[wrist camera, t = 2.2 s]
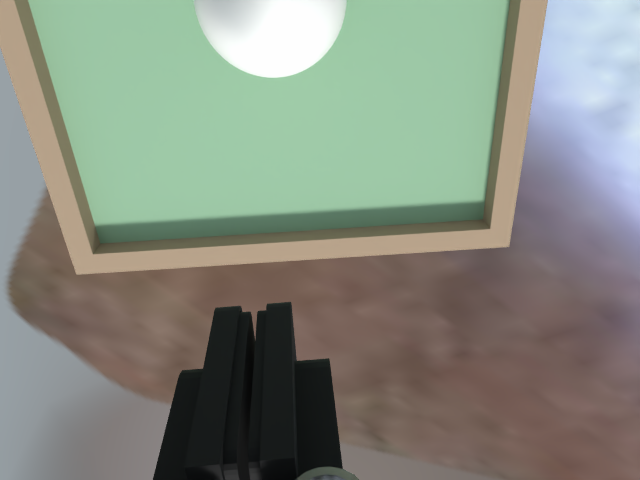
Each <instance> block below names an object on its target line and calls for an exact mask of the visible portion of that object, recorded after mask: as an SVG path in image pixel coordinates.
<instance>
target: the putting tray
mask: <svg viewBox="0 0 640 480" xmlns="http://www.w3.org/2000/svg"><path fill="white" fill-rule="evenodd" d="M547 2H548V0H347V5H346V12H345V17H344V21H343V24H342V27H341V30H340V32H339V34H338V37H337V38H336V40H335V42H334V44H333V45H332V47H331V48H330V49H329V51H328V52H327V53H326V54H325V55H324V56H323V57H322V58H321V59H320V60H319V61H318V62H317V63H315V64H314V65H313V66H311V67H309V68H308V69H306V70H304V71H302V72H300V73H297V74H294V75H291V76H287V77H279V78H267V77H260V76H256V75H252V74H249V73H246V72H244V71H242V70H240V69H238V68H236V67H235V66H233V65H231V64H230V63H229V62H227V61H226V60H225V59H224V58H223V57H222V56H221V55H219V54H218V53H217V52H216V50H215V49H214V48H213V47H212V45H211V44H210V43H209V41H208V39H207V38H206V36H205V35H204V33H203V31H202V28H201V26H200V24H199V21H198V18H197V15H196V12H195V7H194V1H193V0H0V48H1V50H2V53H3V57H4V60H5V63H6V65H7V68H8V71H9V74H10V77H11V80H12V83H13V86H14V89H15V92H16V95H17V98H18V101H19V104H20V107H21V110H22V113H23V116H24V119H25V122H26V125H27V128H28V131H29V134H30V137H31V140H32V143H33V146H34V149H35V152H36V155H37V158H38V161H39V164H40V167H41V170H42V173H43V176H44V179H45V182H46V185H47V188H48V191H49V194H50V197H51V200H52V203H53V206H54V209H55V212H56V215H57V218H58V221H59V224H60V227H61V230H62V233H63V236H64V239H65V242H66V245H67V248H68V251H69V254H70V257H71V259H72V262H73V265H74V268H75V271H76V274H77V275H78V274H93V273H109V272H124V271H140V270H155V269H171V268H187V267H202V266H218V265H233V264H249V263H264V262H280V261H296V260H311V259H327V258H342V257H358V256H373V255H389V254H405V253H420V252H436V251H451V250H467V249H482V248H498V247H509V243H510V237H511V230H512V224H513V218H514V211H515V205H516V199H517V192H518V186H519V180H520V173H521V167H522V161H523V154H524V148H525V141H526V135H527V129H528V122H529V116H530V110H531V103H532V97H533V91H534V84H535V78H536V72H537V65H538V59H539V52H540V46H541V40H542V33H543V27H544V21H545V14H546V8H547Z"/></svg>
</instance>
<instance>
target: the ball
mask: <svg viewBox="0 0 640 480" xmlns="http://www.w3.org/2000/svg"><path fill="white" fill-rule="evenodd" d="M193 1H194V7H195V12H196V15H197V18H198V21H199V24H200V26H201V28H202V31H203V33H204V35H205V36H206V38H207V39H208V41H209V43H210V44H211V45H212V47H213V48H214V49H215V50H216V52H217V53H218V54H219V55H221V56H222V57H223V58H224V59H225V60H226V61H227V62H229V63H230V64H231V65H233V66H235V67H236V68H238V69H240V70H242V71H244V72H246V73H249V74H252V75H256V76H260V77H267V78H279V77H287V76H291V75H294V74H297V73H300V72H302V71H304V70H306V69H308V68H309V67H311V66H313V65H314V64H315V63H317V62H318V61H319V60H320V59H321V58H322V57H323V56H324V55H325V54H326V53H327V52H328V51H329V49H330V48H331V47H332V45H333V44H334V42H335V40H336V38H337V37H338V34H339V32H340V30H341V27H342V24H343V21H344V17H345V12H346V5H347V0H193Z"/></svg>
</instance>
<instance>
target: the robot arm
mask: <svg viewBox="0 0 640 480" xmlns="http://www.w3.org/2000/svg"><path fill="white" fill-rule="evenodd" d="M153 480H359V479H358V478H357V477H356V476H355V475H354V474H352V473H350V472H348V471H346V470H344V469H343V468H342V460H341V452H340V443H339V435H338V426H337V418H336V410H335V401H334V393H333V385H332V376H331V368H330V361H329V359H317V360H305V361H297V360H296V349H295V338H294V327H293V316H292V305H291V302H285V303H272V304H267V307H266V310H265V311H258V312H257V325H256V340H255V337H254V330H253V323H252V316H251V312H242V308H241V306H233V307H220V308H216V309H215V311H214V316H213V321H212V326H211V331H210V337H209V342H208V347H207V352H206V357H205V362H204V367H203V369H194V370H182V372H181V373H180V375H179V378H178V382H177V386H176V390H175V394H174V398H173V401H172V405H171V409H170V414H169V417H168V422H167V425H166V429H165V434H164V437H163V442H162V445H161V449H160V453H159V457H158V461H157V465H156V469H155V474H154V477H153Z"/></svg>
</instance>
